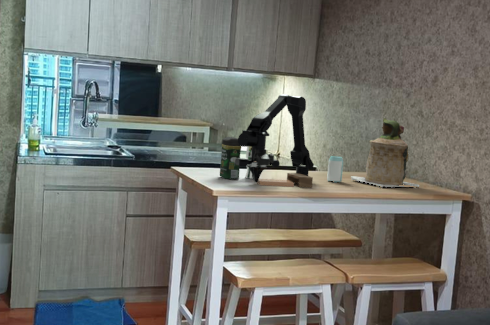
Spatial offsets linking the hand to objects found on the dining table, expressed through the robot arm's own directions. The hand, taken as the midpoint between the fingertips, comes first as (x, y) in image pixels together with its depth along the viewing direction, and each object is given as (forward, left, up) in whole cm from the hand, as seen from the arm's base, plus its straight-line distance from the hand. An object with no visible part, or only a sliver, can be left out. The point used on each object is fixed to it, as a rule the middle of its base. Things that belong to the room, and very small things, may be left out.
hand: (255, 182), depth 288 cm
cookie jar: (-9, +72, -1) cm, 72 cm away
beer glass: (-18, +6, -1) cm, 19 cm away
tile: (0, +9, -1) cm, 9 cm away
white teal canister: (-14, +47, -1) cm, 49 cm away
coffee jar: (-16, -6, -1) cm, 18 cm away
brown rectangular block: (0, +21, -1) cm, 21 cm away
